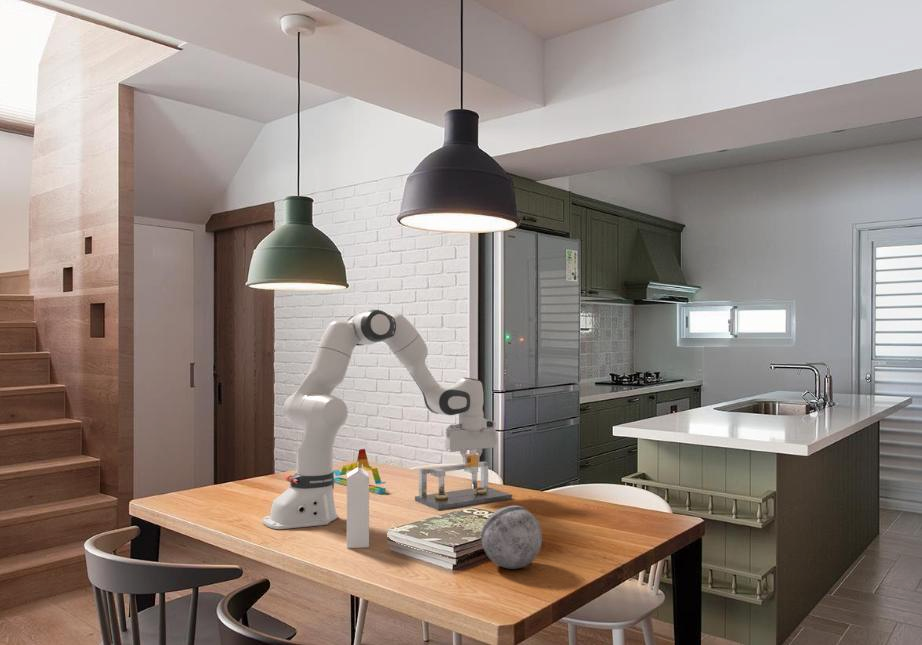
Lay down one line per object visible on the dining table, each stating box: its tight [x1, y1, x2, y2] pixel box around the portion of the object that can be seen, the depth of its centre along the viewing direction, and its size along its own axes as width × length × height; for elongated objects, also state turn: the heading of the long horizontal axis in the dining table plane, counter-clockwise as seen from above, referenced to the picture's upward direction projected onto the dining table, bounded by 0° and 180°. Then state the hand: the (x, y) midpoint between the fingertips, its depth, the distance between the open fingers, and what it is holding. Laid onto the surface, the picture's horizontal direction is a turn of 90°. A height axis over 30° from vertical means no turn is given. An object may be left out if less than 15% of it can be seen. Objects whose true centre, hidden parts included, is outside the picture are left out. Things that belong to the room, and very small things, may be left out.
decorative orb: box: [480, 505, 543, 570], centre depth 169 cm, size 15×14×15 cm
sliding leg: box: [463, 453, 479, 489], centre depth 245 cm, size 3×6×12 cm, turn 32°
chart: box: [332, 448, 387, 495], centre depth 262 cm, size 30×3×15 cm, turn 44°
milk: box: [346, 467, 370, 549], centre depth 188 cm, size 6×6×22 cm
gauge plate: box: [414, 460, 513, 511], centre depth 241 cm, size 30×16×11 cm, turn 123°
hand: (471, 462), depth 246 cm, fingers closed on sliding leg, 3 cm apart
